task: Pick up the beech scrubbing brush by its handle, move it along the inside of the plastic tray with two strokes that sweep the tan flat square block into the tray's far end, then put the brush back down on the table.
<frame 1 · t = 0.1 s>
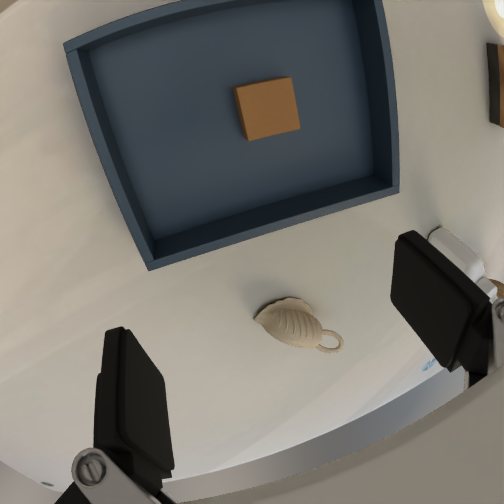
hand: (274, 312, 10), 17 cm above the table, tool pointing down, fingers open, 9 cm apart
decorative ornament: (290, 313, 35), on the table
tan flat square block: (264, 106, 22), point 1 cm above the table, touching tray
eye dropper bottle: (434, 244, 35), on the table
tray: (249, 108, 22), on the table
brush: (497, 83, 25), on the table
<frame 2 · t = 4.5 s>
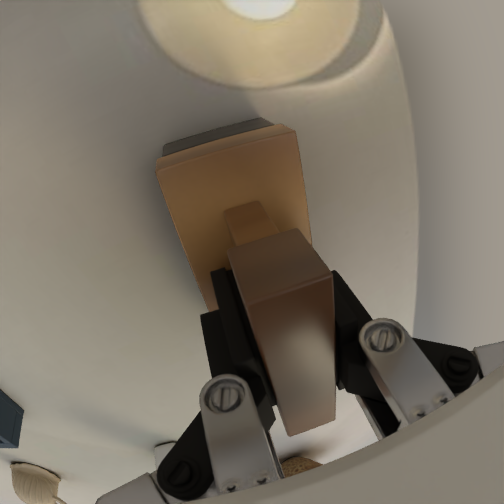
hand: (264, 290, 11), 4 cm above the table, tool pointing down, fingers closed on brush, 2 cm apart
decorative ornament: (39, 469, 24), on the table
eye dropper bottle: (177, 450, 25), on the table
natural sponge: (293, 457, 33), on the table
brush: (240, 236, 14), on the table, touching gripper
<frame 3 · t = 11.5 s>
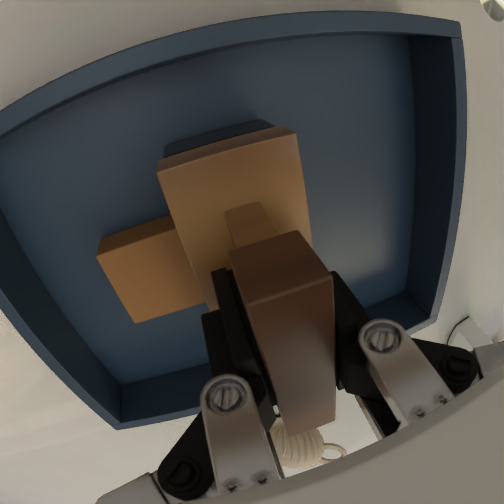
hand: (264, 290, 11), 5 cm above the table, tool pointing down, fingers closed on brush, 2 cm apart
decorative ornament: (288, 421, 28), on the table
tan flat square block: (157, 260, 14), point 1 cm above the table
eye dropper bottle: (457, 333, 28), on the table
tray: (235, 229, 15), on the table
brush: (241, 237, 15), point 1 cm above the table, touching gripper
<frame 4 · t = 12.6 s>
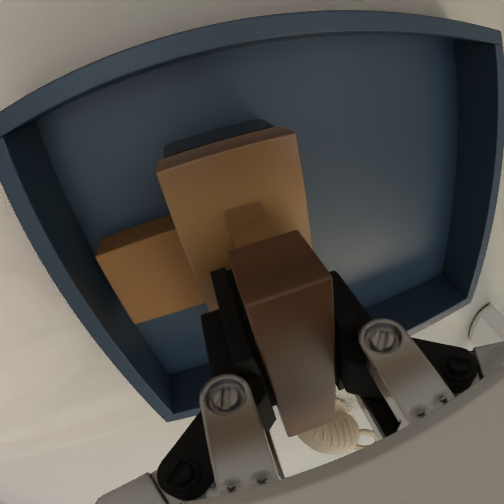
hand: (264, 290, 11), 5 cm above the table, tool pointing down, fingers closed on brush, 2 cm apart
decorative ornament: (323, 409, 28), on the table
tan flat square block: (156, 260, 14), point 1 cm above the table, touching brush, tray
eye dropper bottle: (478, 320, 29), on the table
tray: (304, 208, 15), on the table
brush: (241, 237, 15), point 1 cm above the table, touching tan flat square block, gripper
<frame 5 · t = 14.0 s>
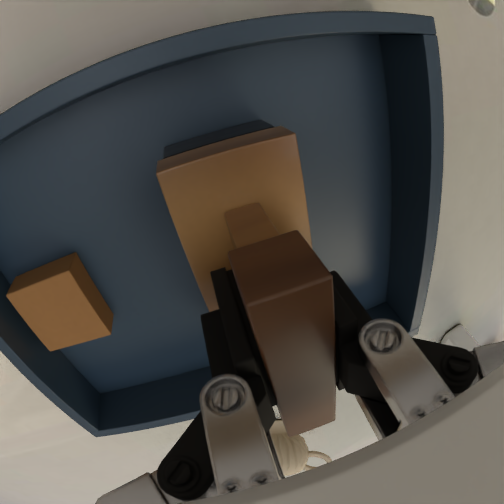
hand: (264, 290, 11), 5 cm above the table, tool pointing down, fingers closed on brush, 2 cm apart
decorative ornament: (273, 428, 28), on the table
tan flat square block: (63, 296, 14), point 1 cm above the table, touching tray
eye dropper bottle: (448, 340, 28), on the table
tray: (199, 244, 15), on the table
brush: (241, 237, 15), point 1 cm above the table, touching gripper
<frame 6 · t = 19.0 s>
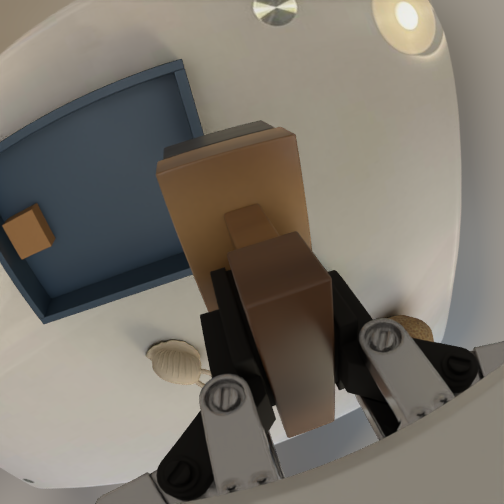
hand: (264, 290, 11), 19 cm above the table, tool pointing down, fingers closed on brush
decorative ornament: (179, 351, 38), on the table
tan flat square block: (31, 228, 25), point 1 cm above the table, touching tray
natural sponge: (387, 321, 46), on the table
tray: (95, 197, 26), on the table
brush: (240, 238, 15), point 15 cm above the table, touching gripper
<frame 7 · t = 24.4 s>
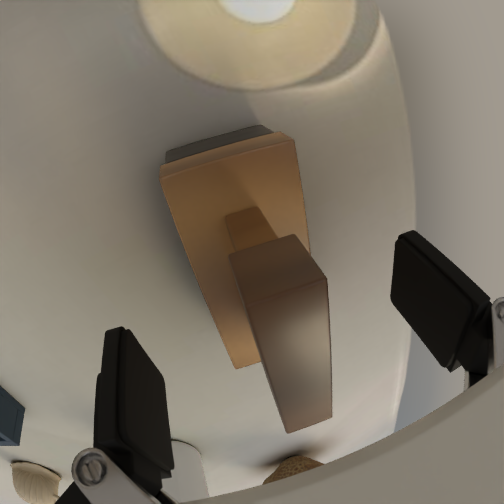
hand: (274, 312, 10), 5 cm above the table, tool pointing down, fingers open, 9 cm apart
decorative ornament: (40, 468, 25), on the table
eye dropper bottle: (177, 448, 25), on the table
natural sponge: (292, 456, 33), on the table
brush: (241, 239, 15), on the table
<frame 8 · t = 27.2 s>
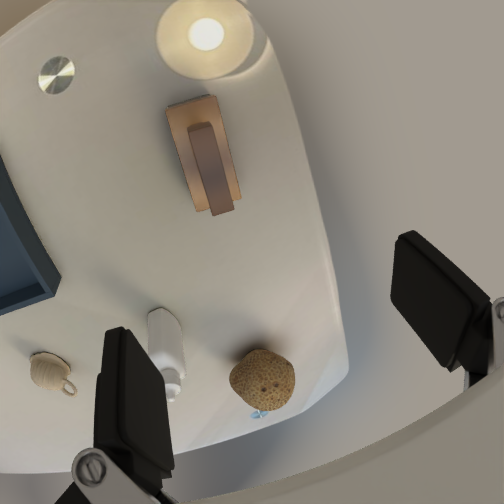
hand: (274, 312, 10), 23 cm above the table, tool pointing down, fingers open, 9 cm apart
decorative ornament: (54, 362, 39), on the table
eye dropper bottle: (164, 321, 40), on the table
natural sponge: (256, 353, 48), on the table
brush: (201, 148, 29), on the table
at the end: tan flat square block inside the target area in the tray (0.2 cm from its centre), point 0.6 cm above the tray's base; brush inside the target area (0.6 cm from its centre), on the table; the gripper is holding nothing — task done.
